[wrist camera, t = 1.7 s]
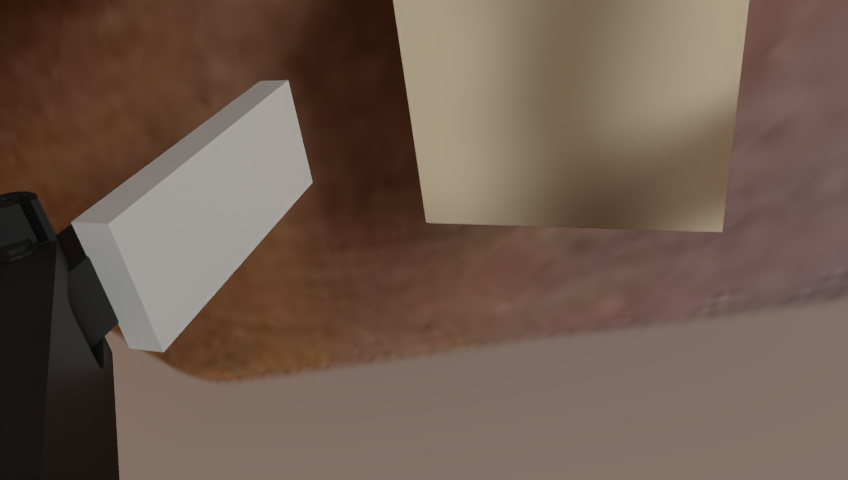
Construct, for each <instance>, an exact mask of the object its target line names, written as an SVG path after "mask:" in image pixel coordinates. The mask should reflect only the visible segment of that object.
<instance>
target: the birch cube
mask: <svg viewBox="0 0 848 480" xmlns="http://www.w3.org/2000/svg"><path fill="white" fill-rule="evenodd" d="M393 4H394V11H395V18H396V24H397V31H398V38H399V45H400V51H401V58H402V65H403V71H404V78H405V85H406V91H407V98H408V105H409V111H410V118H411V125H412V132H413V138H414V145H415V152H416V158H417V165H418V172H419V178H420V185H421V192H422V199H423V205H424V212H425V219H426V223H444V224H475V225H507V226H539V227H571V228H603V229H635V230H667V231H699V232H722V228H723V220H724V211H725V203H726V194H727V186H728V177H729V169H730V160H731V152H732V143H733V135H734V126H735V117H736V109H737V100H738V92H739V83H740V75H741V66H742V58H743V49H744V41H745V32H746V24H747V15H748V7H749V0H393Z"/></svg>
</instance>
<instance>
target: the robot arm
mask: <svg viewBox="0 0 848 480" xmlns="http://www.w3.org/2000/svg"><path fill="white" fill-rule="evenodd" d="M312 183H313V181H312V177H311V173H310V169H309V165H308V160H307V156H306V152H305V148H304V144H303V140H302V135H301V131H300V127H299V123H298V119H297V115H296V110H295V106H294V102H293V98H292V94H291V90H290V85H289V81H288V80H277V81H259V82H258V83H257V84H255V85H254V86H253V87H251V88H250V89H249V90H247V91H246V92H245V93H243V94H242V95H241V96H239V97H238V98H237V99H235V100H234V101H233V102H231V103H230V104H229V105H227V106H226V107H225V108H223V109H222V110H221V111H219V112H218V113H217V114H215V115H214V116H213V117H211V118H210V119H209V120H207V121H206V122H204V123H203V124H202V125H200V126H199V127H198V128H196V129H195V130H194V131H192V132H191V133H190V134H188V135H187V136H186V137H184V138H183V139H182V140H180V141H179V142H178V143H176V144H175V145H174V146H172V147H171V148H170V149H168V150H167V151H166V152H164V153H163V154H162V155H160V156H159V157H158V158H156V159H155V160H154V161H152V162H151V163H150V164H148V165H147V166H146V167H144V168H143V169H141V170H140V171H139V172H137V173H136V174H135V175H133V176H132V177H131V178H129V179H128V180H127V181H125V182H124V183H123V184H121V185H120V186H119V187H117V188H116V189H115V190H113V191H112V192H111V193H109V194H108V195H107V196H105V197H104V198H103V199H101V200H100V201H99V202H97V203H96V204H95V205H93V206H92V207H91V208H89V209H88V210H87V211H85V212H84V213H82V214H81V215H80V216H78V217H77V218H76V219H74V220H73V221H72V222H71V225H70V226H68V227H67V228H66V229H64V230H63V231H62V232H60V233H59V234H58V235H55V233H54V231H53V229H52V227H51V225H50V223H49V221H48V219H47V217H46V214H45V212H44V210H43V208H42V206H41V204H40V202H39V200H38V198H37V196H36V194H35V193H31V192H28V191H26V192H12V193H7V194H2V195H0V480H119V465H118V449H117V448H118V447H117V430H116V413H115V395H114V377H113V361H112V351H111V349H110V347H109V345H108V343H107V341H106V339H105V337H104V336H105V335H106V334H107V333H108V332H109V331H110V330H111V329H112V328H113V327H114V326H115V325H116V324H117V323H118V325H119V327H120V329H121V331H122V333H123V336H124V338H125V340H126V342H127V344H128V346H129V348H130V349H138V350H147V351H156V352H164V351H165V350H166V349H167V348H168V347H169V346H170V345H171V343H172V342H173V341H174V340H175V339H176V338H177V337H178V335H179V334H180V333H181V332H182V331H183V330H184V329H185V328H186V326H187V325H188V324H189V323H190V322H191V321H192V320H193V318H194V317H195V316H196V315H197V314H198V313H199V312H200V310H201V309H202V308H203V307H204V306H205V305H206V304H207V302H208V301H209V300H210V299H211V298H212V297H213V296H214V294H215V293H216V292H217V291H218V290H219V289H220V288H221V286H222V285H223V284H224V283H225V282H226V281H227V280H228V278H229V277H230V276H231V275H232V274H233V273H234V272H235V270H236V269H237V268H238V267H239V266H240V265H241V264H242V262H243V261H244V260H245V259H246V258H247V257H248V256H249V255H250V253H251V252H252V251H253V250H254V249H255V248H256V247H257V245H258V244H259V243H260V242H261V241H262V240H263V239H264V237H265V236H266V235H267V234H268V233H269V232H270V231H271V229H272V228H273V227H274V226H275V225H276V224H277V223H278V221H279V220H280V219H281V218H282V217H283V216H284V215H285V213H286V212H287V211H288V210H289V209H290V208H291V207H292V205H293V204H294V203H295V202H296V201H297V200H298V199H299V197H300V196H301V195H302V194H303V193H304V192H305V191H306V189H307V188H308V187H309V186H310V185H311V184H312Z"/></svg>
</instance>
